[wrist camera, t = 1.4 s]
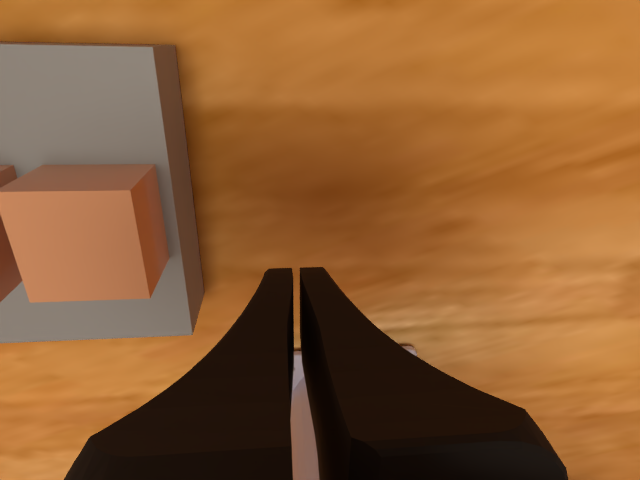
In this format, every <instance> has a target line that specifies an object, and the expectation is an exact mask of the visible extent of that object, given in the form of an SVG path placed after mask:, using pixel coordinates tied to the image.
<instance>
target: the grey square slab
mask: <svg viewBox="0 0 640 480" xmlns="http://www.w3.org/2000/svg"><path fill="white" fill-rule="evenodd" d="M89 164H155V167H156V173H157V180H158V186H159V193H160V199H161V206H162V212H163V219H164V225H165V232H166V238H167V245H168V251H169V260H168V263H167V265H166V267H165V269H164V271H163V273H162V275H161V277H160V279H159V281H158V283H157V285H156V287H155V290H154V292H153V294H152V296H151V298H150V299H122V300H93V301H63V302H34V303H30V302H29V299H28V296H27V293H26V290H25V287H24V284H23V281H22V282H21V283H20V284H19V285H18V286H17V287H16V288H15V289H14V290H13V291H12V292H10V293H9V294H8V295H7V296H6V297H5V298H4V299H3V300H2V301H1V302H0V343H16V342H39V341H63V340H87V339H111V338H134V337H158V336H182V335H193V332H194V328H195V325H196V321H197V318H198V314H199V310H200V307H201V303H202V300H203V296H204V286H203V278H202V269H201V261H200V252H199V244H198V235H197V227H196V218H195V210H194V201H193V193H192V184H191V176H190V167H189V159H188V150H187V142H186V133H185V125H184V116H183V108H182V99H181V91H180V82H179V74H178V65H177V57H176V48H175V45H150V44H97V43H45V42H0V165H14V169H15V172H16V175H17V178H19V177H21V176H23V175H25V174H27V173H28V172H30V171H32V170H34V169H36V168H37V167H39V166H41V165H89Z"/></svg>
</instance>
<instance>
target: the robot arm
mask: <svg viewBox="0 0 640 480" xmlns="http://www.w3.org/2000/svg"><path fill="white" fill-rule="evenodd" d="M300 339H301V351H294V318H293V273H292V268H278V269H268V270H267V271H266V272H265V274H264V277H263V279H262V281H261V283H260V285H259V287H258V289H257V291H256V292H255V294H254V296H253V297H252V299H251V300H250V302H249V304H248V305H247V307H246V308H245V310H244V311H243V313H242V314H241V315H240V317H239V318H238V319H237V321H236V322H235V323H234V324H233V326H232V327H231V328H230V330H229V331H228V332H227V333H226V334H225V336H224V337H223V338H222V339H221V340H220V341H219V342H218V344H217V345H216V346H215V347H214V348H213V349H212V350H211V351H210V352H209V353H208V354H207V355H206V356H205V357H204V358H203V359H202V360H201V361H199V362H198V363H197V364H196V365H195V366H194V367H193V368H192V369H191V370H190V371H189V372H187V373H186V374H185V375H184V376H183V377H182V378H180V379H179V380H178V381H176V382H175V383H174V384H173V385H171V386H170V387H169V388H167V389H166V390H165V391H163V392H162V393H160V394H159V395H157V396H156V397H155V398H153V399H152V400H150V401H149V402H147V403H146V404H144V405H143V406H141V407H140V408H138V409H137V410H135V411H133V412H132V413H130V414H128V415H127V416H125V417H123V418H122V419H120V420H118V421H117V422H115V423H113V424H112V425H110V426H108V427H107V428H105V429H103V430H102V431H100V432H98V433H96V434H94V435H92V436H91V437H90V438H89V439H88V441H87V442H86V444H85V446H84V447H83V449H82V451H81V452H80V454H79V455H78V457H77V458H76V460H75V461H74V463H73V465H72V466H71V468H70V470H69V472H68V473H67V475H66V477H65V479H64V480H568V476H567V471H566V467H565V466H564V464H563V463H562V461H561V460H560V458H559V457H558V455H557V454H556V452H555V451H554V449H553V448H552V446H551V444H550V443H549V441H548V440H547V438H546V437H545V435H544V434H543V432H542V431H541V430H540V428H539V427H538V426H537V424H536V423H535V422H534V421H533V419H532V418H531V417H530V415H529V414H528V413H527V412H526V410H525V409H523V408H521V407H518V406H516V405H513V404H511V403H509V402H506V401H504V400H501V399H499V398H496V397H494V396H492V395H489V394H487V393H484V392H482V391H480V390H477V389H475V388H473V387H471V386H469V385H467V384H465V383H463V382H461V381H459V380H457V379H455V378H453V377H451V376H449V375H447V374H445V373H444V372H442V371H440V370H438V369H436V368H435V367H433V366H431V365H429V364H428V363H426V362H425V361H423V360H421V359H420V358H418V357H417V352H416V350H415V349H414V348H413V347H412V346H400V345H399V344H398V343H396V342H395V341H394V340H392V339H391V338H390V337H388V336H387V335H386V334H384V333H383V332H382V331H381V330H380V329H378V328H377V327H376V326H375V325H374V324H373V323H372V322H371V321H370V320H369V319H367V318H366V317H365V316H364V315H363V314H362V313H361V312H360V311H359V310H358V308H357V307H356V306H355V305H354V304H353V303H352V302H351V301H350V300H349V299H348V298H347V296H346V295H345V294H344V293H343V292H342V291H341V289H340V288H339V287H338V286H337V284H336V283H335V282H334V281H333V279H332V278H331V277H330V275H329V274H328V272H327V271H326V270H325V269H324V268H323V267H313V268H300Z"/></svg>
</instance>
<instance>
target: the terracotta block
mask: <svg viewBox="0 0 640 480" xmlns="http://www.w3.org/2000/svg"><path fill="white" fill-rule="evenodd" d="M16 179H17V175H16V172H15V169H14V165H0V188H1V187H3V186H5V185H7V184H8V183H10V182H12V181H14V180H16ZM21 282H22V278H21V275H20V272H19V269H18V266H17V263H16V260H15V257H14V254H13V251H12V248H11V245H10V242H9V239H8V236H7V233H6V230H5V227H4V224H3V221H2V218H1V215H0V302H1V301H2V300H3V299H4V298H5V297H6V296H7V295H8V294H9V293H10V292H12V291H13V290H14V289H15V288H16V287H17V286H18V285H19V284H20V283H21Z"/></svg>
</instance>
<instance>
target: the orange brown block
mask: <svg viewBox="0 0 640 480" xmlns="http://www.w3.org/2000/svg"><path fill="white" fill-rule="evenodd" d="M0 215H1V218H2V221H3V224H4V227H5V230H6V233H7V236H8V239H9V242H10V245H11V248H12V251H13V254H14V257H15V260H16V263H17V266H18V269H19V272H20V275H21V278H22V281H23V284H24V287H25V290H26V293H27V296H28V299H29V302H30V303H34V302H63V301H93V300H122V299H150V298H151V296H152V294H153V292H154V290H155V287H156V285H157V283H158V281H159V279H160V277H161V275H162V273H163V271H164V269H165V267H166V265H167V263H168V260H169V251H168V245H167V238H166V232H165V225H164V219H163V212H162V206H161V199H160V193H159V186H158V180H157V173H156V167H155V164H89V165H41V166H39V167H37V168H36V169H34V170H32V171H30V172H28V173H27V174H25V175H23V176H21V177H19V178H17V179H16V180H14V181H12V182H10V183H8V184H7V185H5V186H3V187H1V188H0Z"/></svg>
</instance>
